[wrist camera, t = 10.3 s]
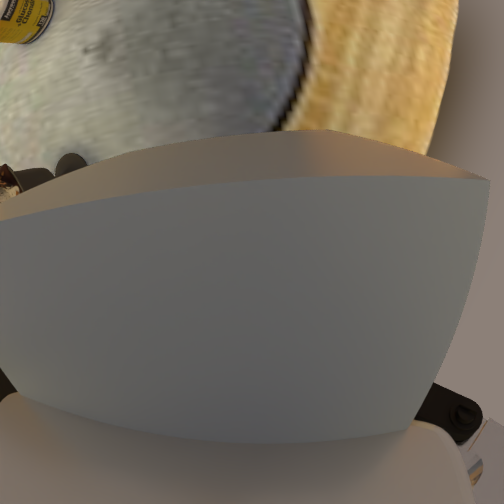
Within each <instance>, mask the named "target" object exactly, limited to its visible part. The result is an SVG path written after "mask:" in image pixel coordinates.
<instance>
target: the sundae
mask: <svg viewBox="0 0 504 504" xmlns="http://www.w3.org/2000/svg"><path fill="white" fill-rule="evenodd" d="M86 166H87V165H86V163H85V161H84V160H83V158H81V157H80V156H79V155H77V154H74V153H69V154H66V155H64V156H63V157H62V158H61V159H60V160H59V162H58V164H57V167H56V172H55V177H54V175H53V174H52V173H51V172H50V171H49V170H48V169H46V168H32V169H26V170H21V171H14V172H13V170H12V169H11V168H10V167H9V166H7V164H4V165H3V166H0V203H2V202H4V201H6V200H8V199H10V198H12V197H15V196H17V195H19V194H21V193H23V192H25V191H27V190H30V189H32V188H34V187H36V186H39V185H41V184H43V183H45V182H48V181H50V180H53V179H55V178H58V177H60V176H63V175H65V174H68V173H70V172H73V171H75V170H78V169H81V168H84V167H86Z"/></svg>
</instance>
